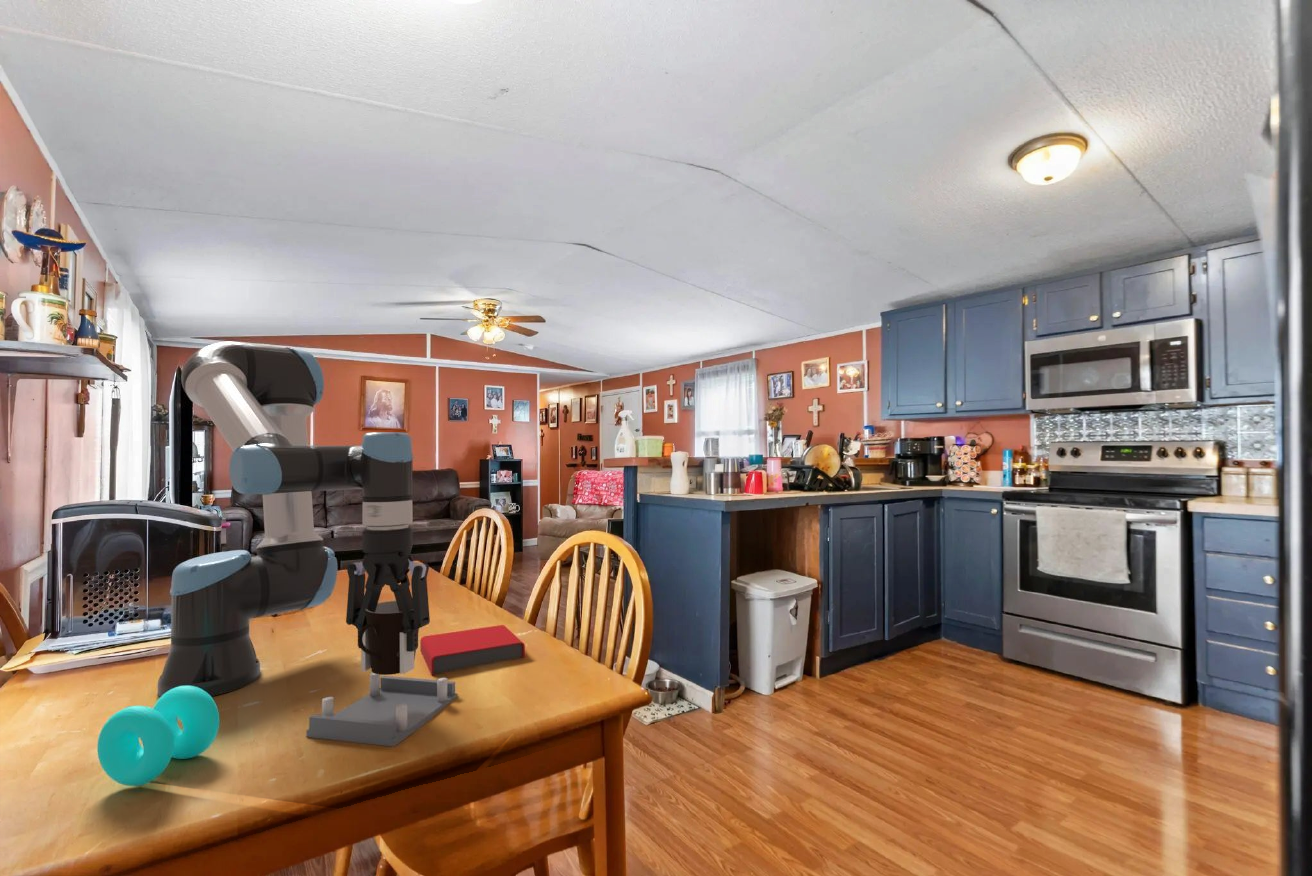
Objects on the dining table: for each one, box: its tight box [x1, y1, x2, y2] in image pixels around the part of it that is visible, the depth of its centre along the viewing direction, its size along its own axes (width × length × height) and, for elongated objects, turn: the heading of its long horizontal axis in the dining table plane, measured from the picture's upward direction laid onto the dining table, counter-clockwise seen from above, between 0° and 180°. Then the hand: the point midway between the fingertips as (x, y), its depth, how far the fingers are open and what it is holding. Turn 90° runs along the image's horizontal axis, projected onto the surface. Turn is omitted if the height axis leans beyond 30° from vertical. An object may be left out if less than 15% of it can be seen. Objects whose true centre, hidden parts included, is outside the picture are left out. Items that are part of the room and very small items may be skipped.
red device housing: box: [419, 624, 526, 676], centre depth 126 cm, size 18×14×5 cm
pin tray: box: [305, 672, 459, 748], centre depth 100 cm, size 15×17×4 cm
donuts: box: [96, 686, 220, 787], centre depth 83 cm, size 10×10×10 cm
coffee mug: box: [357, 600, 420, 676], centre depth 100 cm, size 12×9×10 cm
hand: (387, 669), depth 100 cm, fingers closed on coffee mug, 6 cm apart
